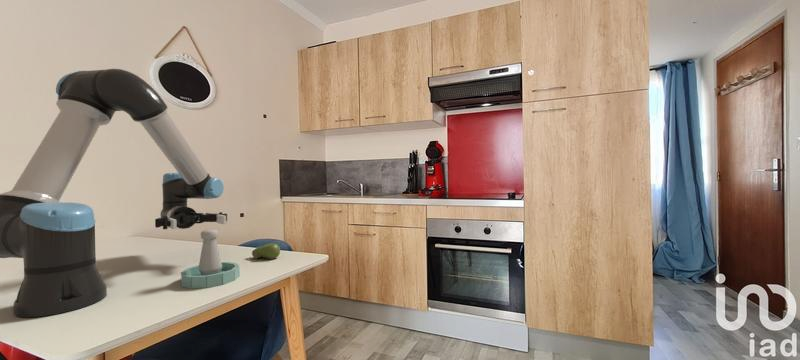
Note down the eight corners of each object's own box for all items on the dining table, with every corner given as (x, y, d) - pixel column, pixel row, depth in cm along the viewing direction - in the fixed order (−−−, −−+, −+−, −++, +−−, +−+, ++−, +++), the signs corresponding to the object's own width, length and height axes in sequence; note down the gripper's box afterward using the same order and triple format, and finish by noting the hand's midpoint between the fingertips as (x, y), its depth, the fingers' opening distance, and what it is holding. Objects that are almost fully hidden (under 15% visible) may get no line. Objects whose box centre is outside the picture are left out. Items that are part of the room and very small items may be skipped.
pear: (272, 244, 112) (247, 248, 114) (275, 259, 112) (250, 263, 114) (281, 240, 117) (257, 244, 119) (284, 255, 117) (260, 259, 119)
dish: (170, 289, 85) (170, 278, 85) (196, 273, 99) (196, 263, 99) (227, 286, 87) (227, 275, 87) (245, 270, 101) (245, 261, 101)
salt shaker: (202, 280, 89) (201, 232, 88) (195, 276, 93) (194, 230, 92) (225, 275, 93) (224, 229, 93) (218, 271, 97) (217, 227, 97)
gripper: (220, 224, 125) (243, 229, 110) (137, 232, 107) (151, 239, 92) (220, 204, 125) (243, 207, 110) (137, 208, 107) (150, 213, 92)
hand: (201, 222), depth 101 cm, fingers open, 13 cm apart
